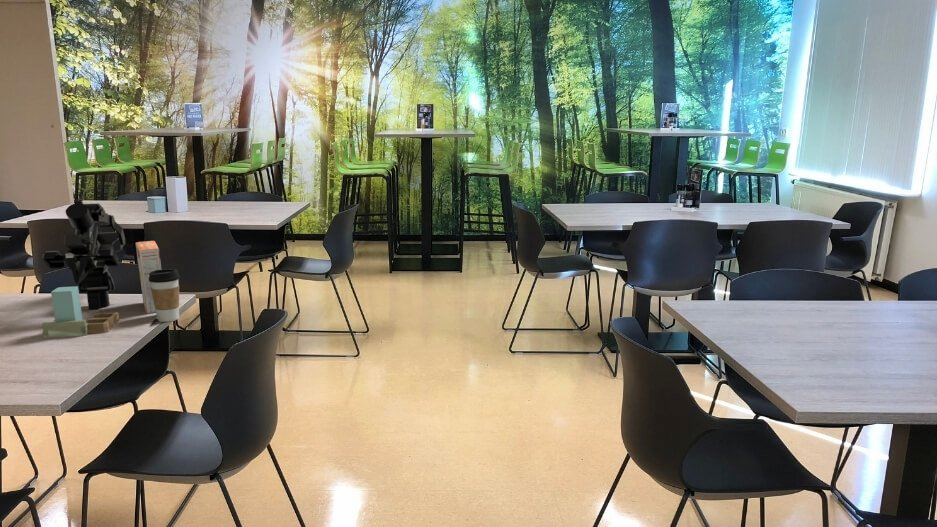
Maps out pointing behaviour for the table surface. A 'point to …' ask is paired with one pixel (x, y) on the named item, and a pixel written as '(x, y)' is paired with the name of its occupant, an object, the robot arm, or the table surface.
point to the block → (66, 304)
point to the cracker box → (147, 270)
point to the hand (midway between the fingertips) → (76, 283)
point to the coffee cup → (165, 293)
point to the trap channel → (81, 326)
